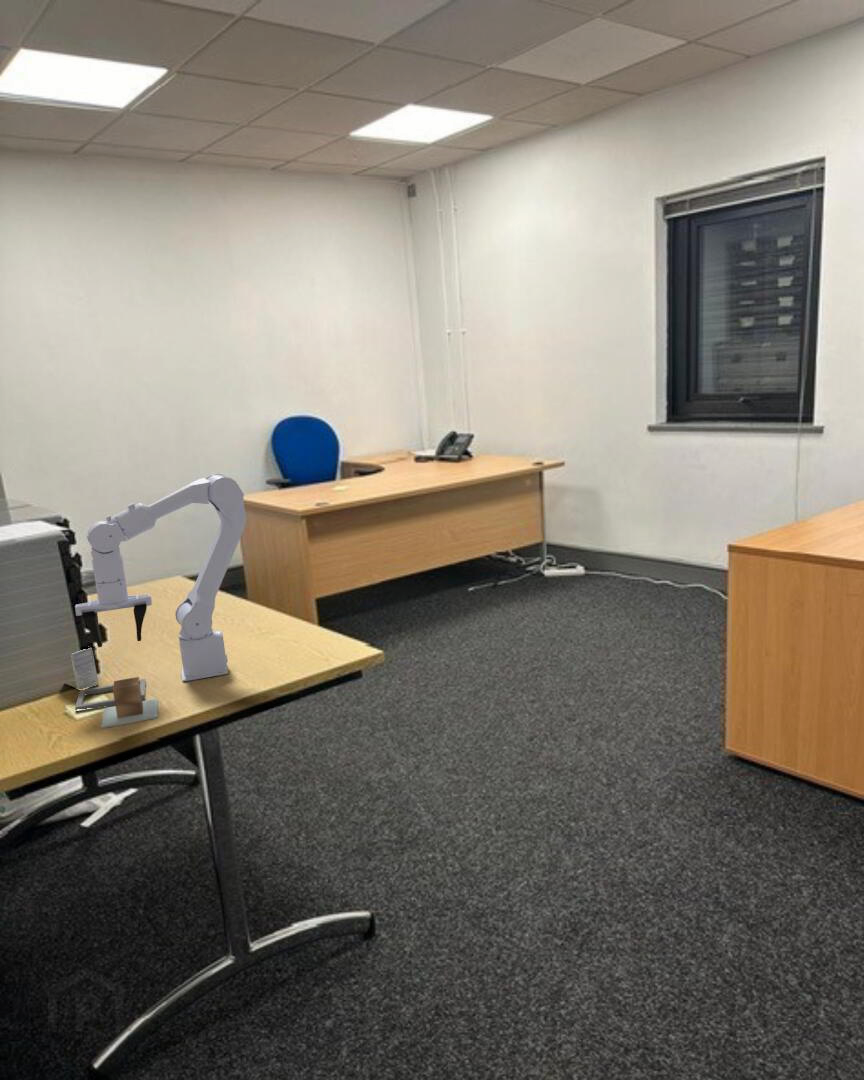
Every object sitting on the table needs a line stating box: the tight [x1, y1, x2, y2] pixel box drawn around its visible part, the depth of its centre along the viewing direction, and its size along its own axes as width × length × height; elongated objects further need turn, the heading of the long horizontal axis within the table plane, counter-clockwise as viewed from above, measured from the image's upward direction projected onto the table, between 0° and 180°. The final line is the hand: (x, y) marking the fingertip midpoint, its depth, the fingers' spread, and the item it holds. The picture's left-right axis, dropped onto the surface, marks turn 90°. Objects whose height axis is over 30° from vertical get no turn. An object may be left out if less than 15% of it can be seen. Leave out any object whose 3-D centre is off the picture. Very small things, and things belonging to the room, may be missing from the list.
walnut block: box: [112, 676, 143, 718], centre depth 152 cm, size 4×4×6 cm
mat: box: [101, 698, 159, 729], centre depth 152 cm, size 10×9×1 cm
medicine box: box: [71, 647, 99, 689], centre depth 168 cm, size 8×4×9 cm, turn 48°
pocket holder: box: [74, 678, 147, 711], centre depth 161 cm, size 13×10×1 cm
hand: (120, 642), depth 163 cm, fingers open, 7 cm apart
